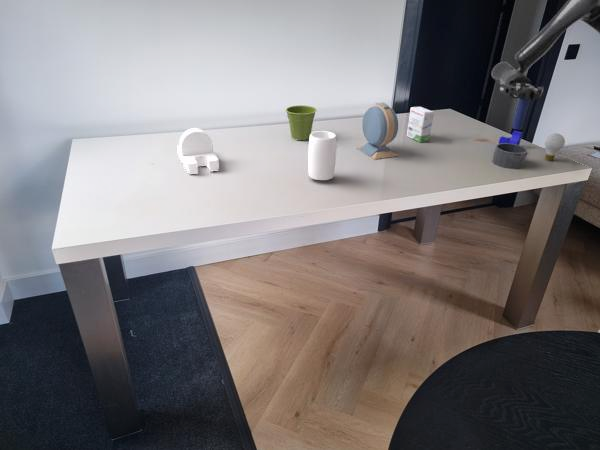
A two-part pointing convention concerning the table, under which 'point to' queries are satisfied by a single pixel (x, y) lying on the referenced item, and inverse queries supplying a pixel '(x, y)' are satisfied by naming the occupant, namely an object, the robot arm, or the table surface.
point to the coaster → (482, 140)
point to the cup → (322, 155)
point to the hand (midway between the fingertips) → (528, 96)
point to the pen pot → (509, 155)
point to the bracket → (196, 151)
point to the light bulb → (553, 145)
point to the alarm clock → (379, 131)
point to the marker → (522, 108)
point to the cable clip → (512, 138)
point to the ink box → (420, 124)
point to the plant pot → (301, 121)
